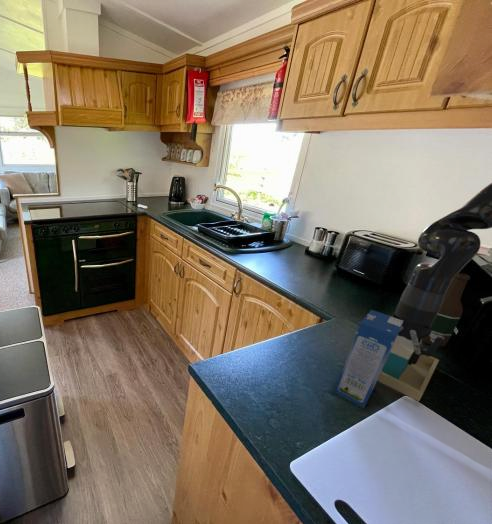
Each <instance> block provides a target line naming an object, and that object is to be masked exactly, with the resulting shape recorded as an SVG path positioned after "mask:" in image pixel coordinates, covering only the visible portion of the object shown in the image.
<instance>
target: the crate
mask: <svg viewBox="0 0 492 524" xmlns="http://www.w3.org/2000/svg"><path fill="white" fill-rule="evenodd" d="M439 362H440V359H438V358H436V357H433V356H432V355H431V356H430V357H428V356H426V355H420V357H419V359H418V361H417V363H416V364H411V365H409V364H408V366H407V367H406V369H405V370H404V372H403V373H402V375H401V377H400V378H399V380H398V379H396V378H394V377H392V376H390V375H388V374H386V373H383V372H381V373H380V376H379V378H378V380H377V382H379V383H381V384H383V385H385V386H387V387H389V388H391V389H393V390H395V391H397V392H399V393H401V394H403V395H404V396H407V397H409V398H410V399H413V400H414V401H416V402H420V400H421V398H422V397H423V396H424V393H425V391H426V389H427V387H428V384H429V383H430V380H431V378H432V377H433V374H434V372H435V370H436V368H437V366H438V364H439Z"/></svg>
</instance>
